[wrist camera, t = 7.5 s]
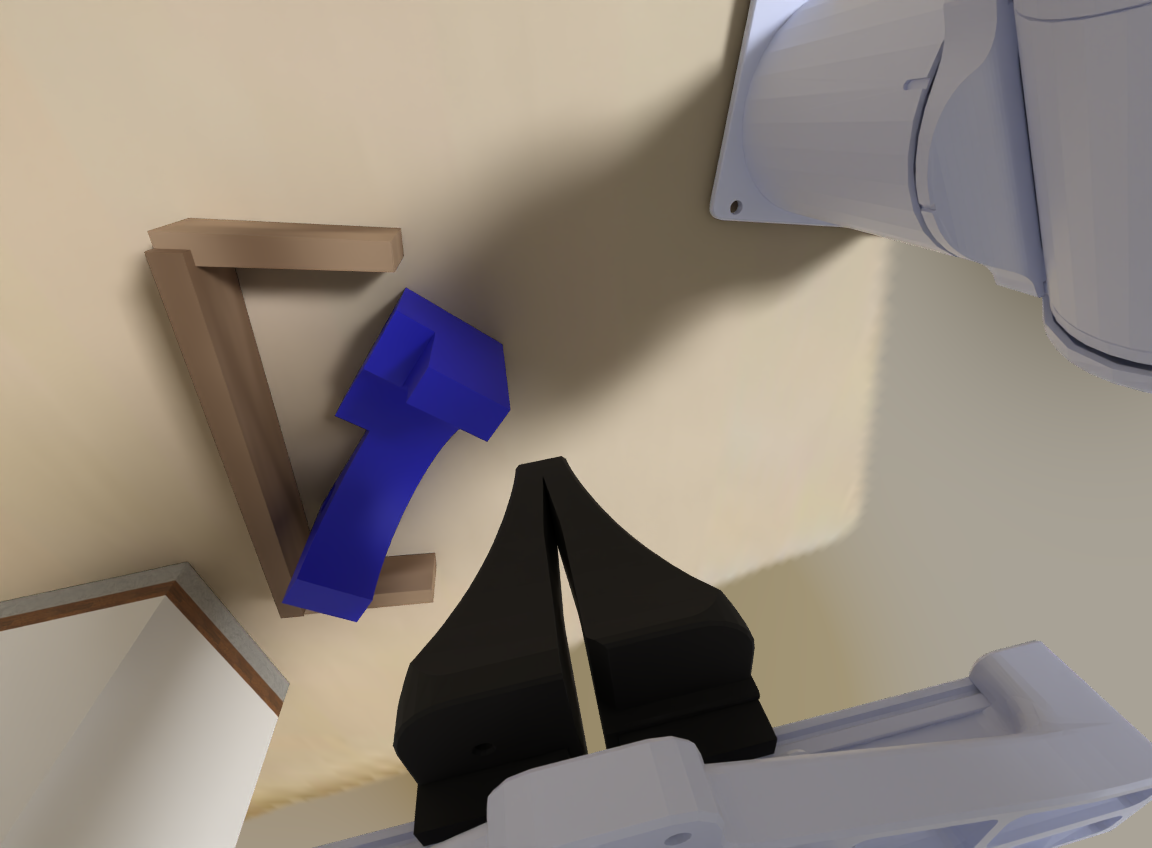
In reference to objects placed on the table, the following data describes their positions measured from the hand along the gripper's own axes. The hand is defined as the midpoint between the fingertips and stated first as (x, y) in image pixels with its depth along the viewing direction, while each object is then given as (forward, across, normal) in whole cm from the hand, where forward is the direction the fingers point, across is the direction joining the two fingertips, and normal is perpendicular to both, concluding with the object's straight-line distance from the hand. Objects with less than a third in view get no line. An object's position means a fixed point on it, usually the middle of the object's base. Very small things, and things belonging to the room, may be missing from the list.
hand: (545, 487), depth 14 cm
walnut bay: (+9, +8, +2) cm, 13 cm away
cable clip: (+10, +6, +2) cm, 12 cm away
